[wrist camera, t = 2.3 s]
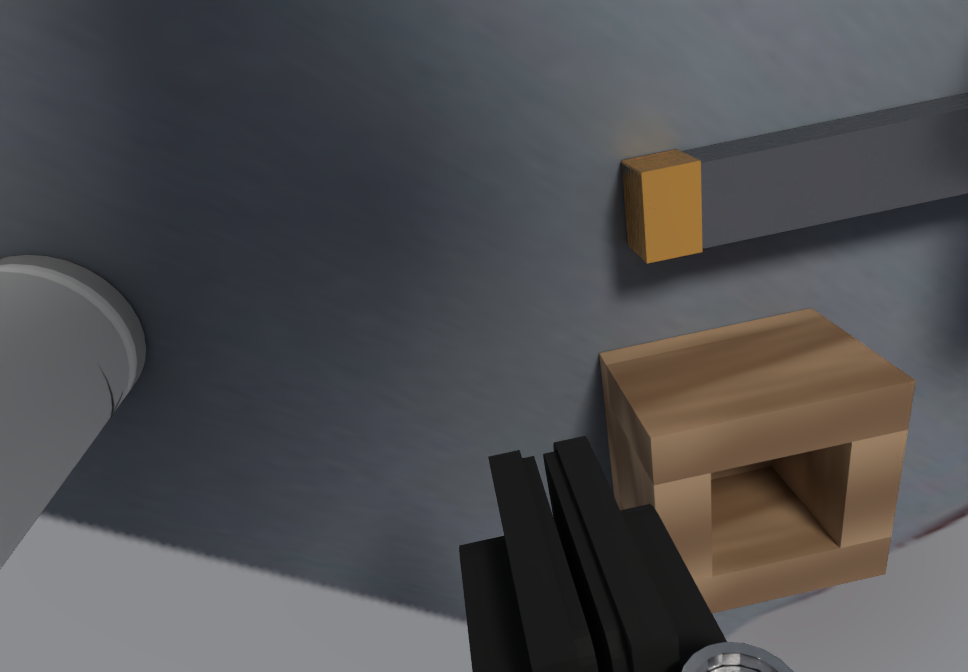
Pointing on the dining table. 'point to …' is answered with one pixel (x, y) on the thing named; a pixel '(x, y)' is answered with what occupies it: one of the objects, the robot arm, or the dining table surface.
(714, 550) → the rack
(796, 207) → the bar
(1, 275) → the travel mug
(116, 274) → the dining table surface
